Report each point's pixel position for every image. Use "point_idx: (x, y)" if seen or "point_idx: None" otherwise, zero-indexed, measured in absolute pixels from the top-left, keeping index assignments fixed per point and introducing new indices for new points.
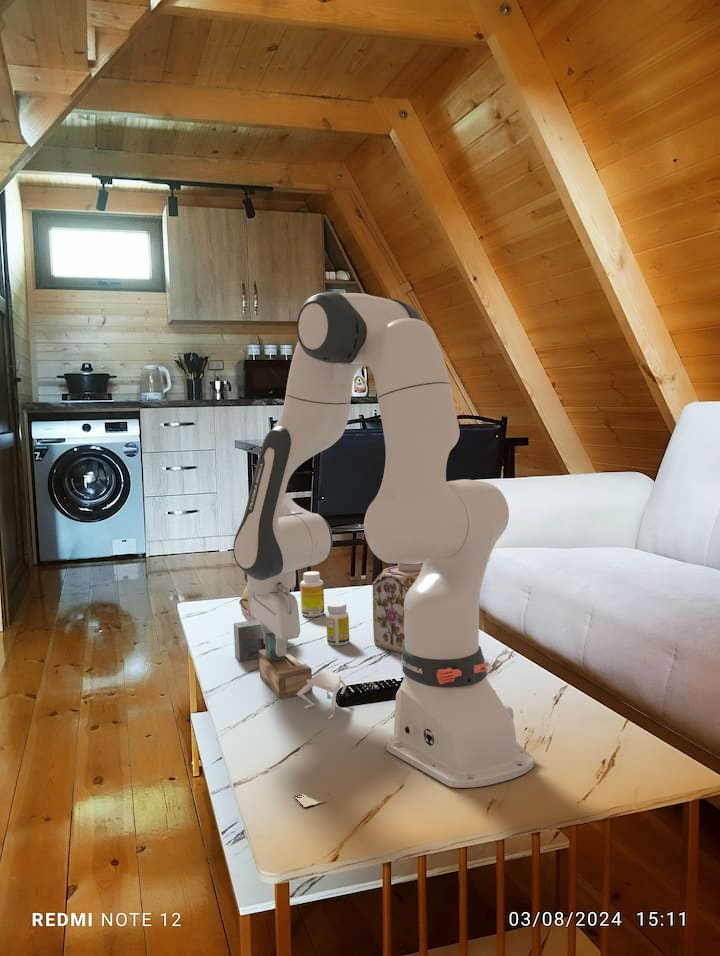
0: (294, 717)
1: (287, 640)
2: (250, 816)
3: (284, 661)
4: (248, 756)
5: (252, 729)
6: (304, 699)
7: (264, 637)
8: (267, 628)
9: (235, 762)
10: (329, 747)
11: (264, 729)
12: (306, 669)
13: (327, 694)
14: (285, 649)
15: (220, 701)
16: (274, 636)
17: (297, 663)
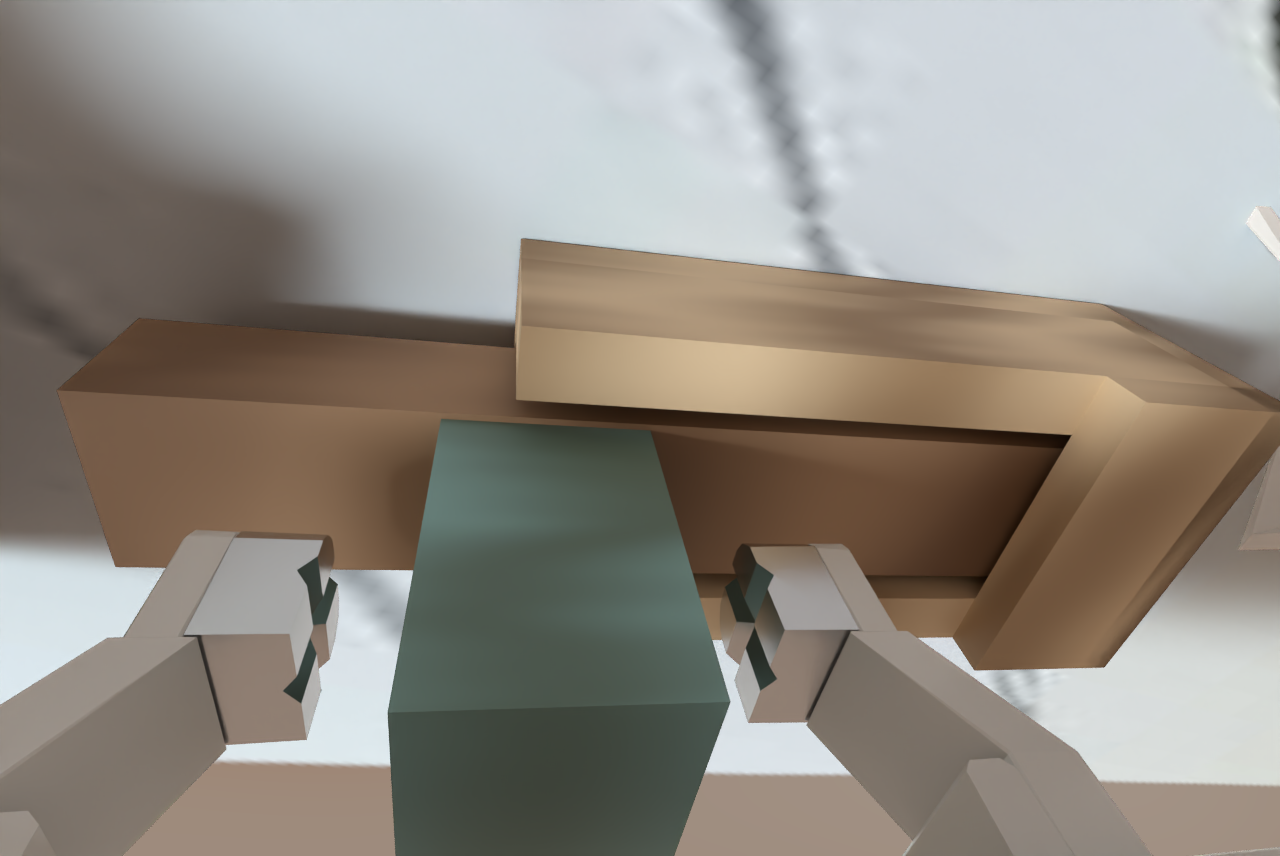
0: (1233, 541)
1: (1024, 722)
2: None
3: (723, 463)
4: (1267, 747)
5: (1128, 704)
6: (1261, 487)
7: (222, 729)
8: (69, 831)
9: (1250, 777)
10: None
11: (1177, 671)
12: (1262, 463)
13: (1274, 242)
14: (869, 598)
15: (739, 750)
16: (676, 809)
17: (925, 394)
